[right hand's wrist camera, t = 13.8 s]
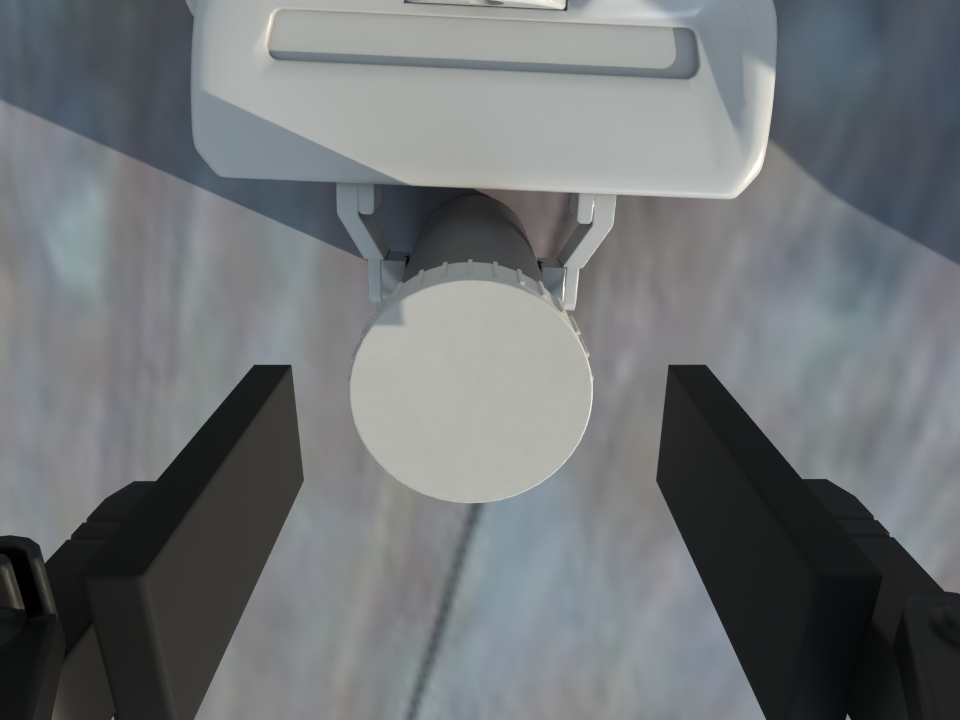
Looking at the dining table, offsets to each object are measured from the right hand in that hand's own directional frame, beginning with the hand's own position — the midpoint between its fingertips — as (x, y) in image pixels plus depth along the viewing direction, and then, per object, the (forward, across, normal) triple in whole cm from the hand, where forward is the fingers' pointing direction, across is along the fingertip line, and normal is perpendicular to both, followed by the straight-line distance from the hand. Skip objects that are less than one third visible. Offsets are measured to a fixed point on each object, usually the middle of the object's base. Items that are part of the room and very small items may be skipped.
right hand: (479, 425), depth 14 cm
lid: (+2, 0, 0) cm, 2 cm away
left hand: (+13, 0, -1) cm, 14 cm away
